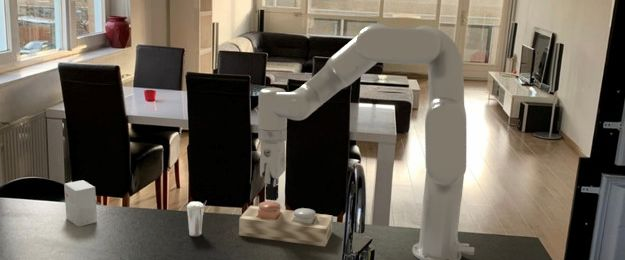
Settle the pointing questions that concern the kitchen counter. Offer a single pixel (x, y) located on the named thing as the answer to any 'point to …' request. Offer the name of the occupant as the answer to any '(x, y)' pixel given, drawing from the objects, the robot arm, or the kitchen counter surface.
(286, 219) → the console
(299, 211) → the grey button
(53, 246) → the kitchen counter surface
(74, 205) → the small box
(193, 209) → the milkshake
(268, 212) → the terracotta button
